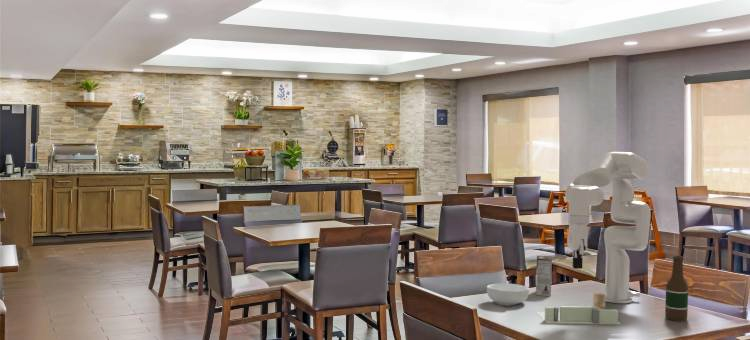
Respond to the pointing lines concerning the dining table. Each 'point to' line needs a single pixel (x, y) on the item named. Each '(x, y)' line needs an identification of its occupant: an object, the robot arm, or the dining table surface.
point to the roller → (599, 300)
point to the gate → (576, 313)
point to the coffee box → (543, 275)
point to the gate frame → (597, 318)
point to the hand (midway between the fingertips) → (577, 268)
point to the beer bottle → (677, 293)
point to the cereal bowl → (507, 293)
